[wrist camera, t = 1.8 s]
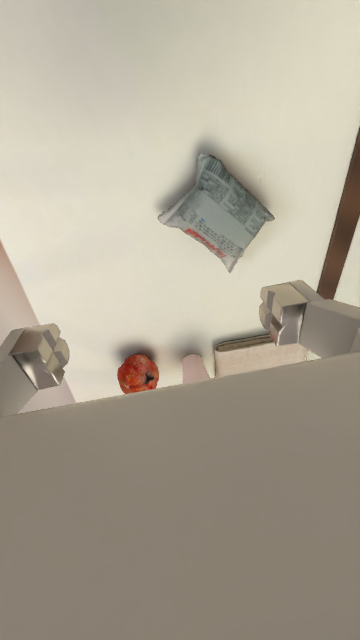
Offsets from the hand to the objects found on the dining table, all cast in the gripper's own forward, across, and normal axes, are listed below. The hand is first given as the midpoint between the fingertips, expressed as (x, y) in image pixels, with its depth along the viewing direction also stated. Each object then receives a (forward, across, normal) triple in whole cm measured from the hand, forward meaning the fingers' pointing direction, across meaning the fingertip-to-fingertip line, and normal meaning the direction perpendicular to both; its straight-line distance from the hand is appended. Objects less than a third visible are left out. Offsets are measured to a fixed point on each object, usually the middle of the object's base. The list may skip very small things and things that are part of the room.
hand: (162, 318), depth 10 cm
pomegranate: (+26, +7, +27) cm, 38 cm away
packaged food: (+25, -8, +3) cm, 26 cm away
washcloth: (+26, -16, +31) cm, 43 cm away
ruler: (+25, -26, +7) cm, 37 cm away
